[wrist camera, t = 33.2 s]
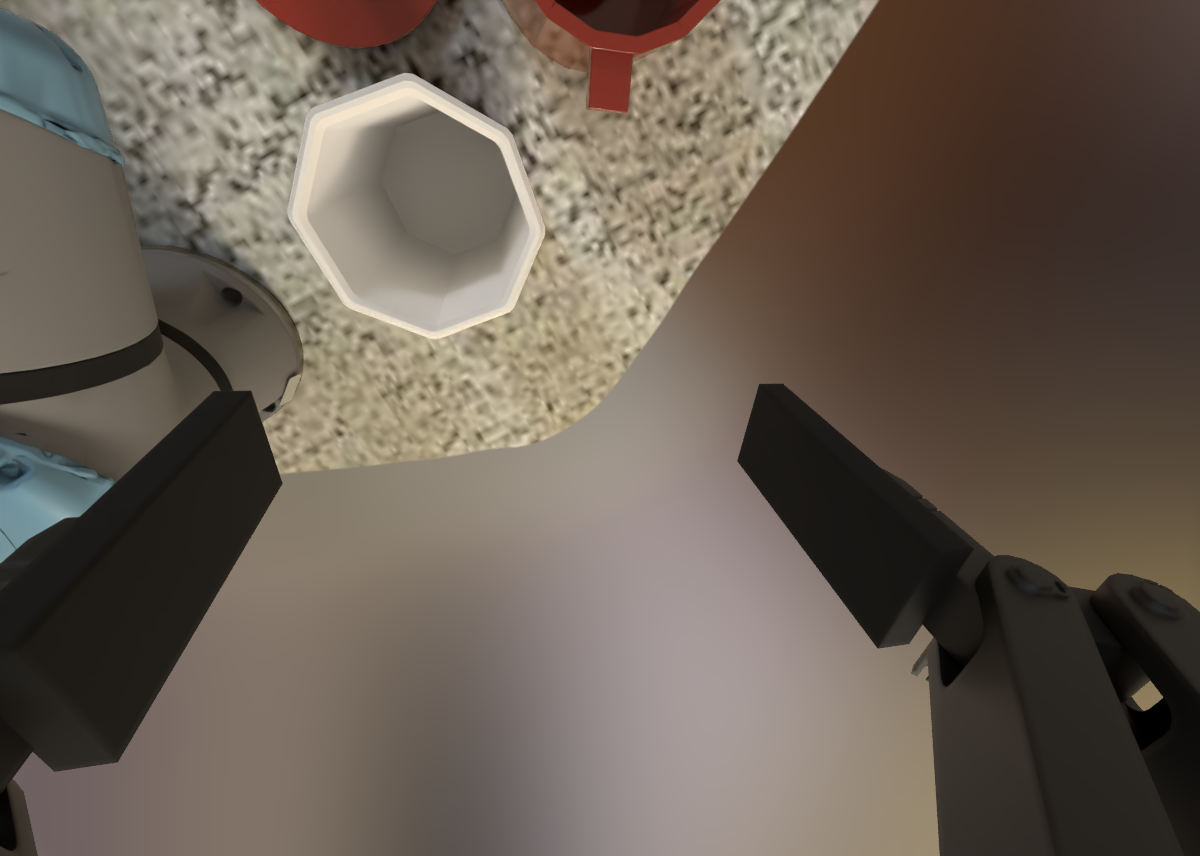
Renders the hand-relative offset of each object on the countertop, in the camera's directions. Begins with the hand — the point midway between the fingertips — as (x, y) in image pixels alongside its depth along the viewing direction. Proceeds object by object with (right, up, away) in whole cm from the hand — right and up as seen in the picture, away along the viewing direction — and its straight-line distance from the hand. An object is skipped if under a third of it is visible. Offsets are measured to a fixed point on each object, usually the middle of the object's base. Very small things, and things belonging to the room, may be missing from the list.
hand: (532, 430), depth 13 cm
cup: (-10, +19, +24) cm, 32 cm away
